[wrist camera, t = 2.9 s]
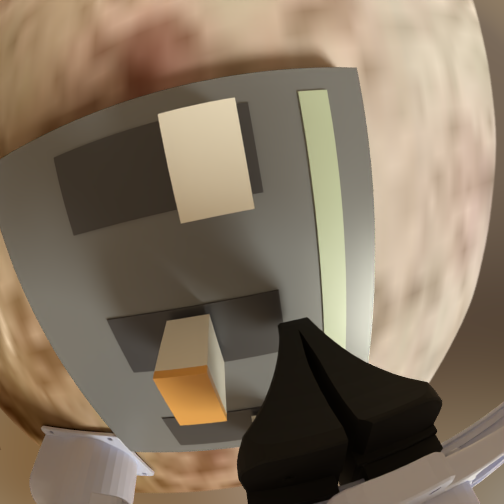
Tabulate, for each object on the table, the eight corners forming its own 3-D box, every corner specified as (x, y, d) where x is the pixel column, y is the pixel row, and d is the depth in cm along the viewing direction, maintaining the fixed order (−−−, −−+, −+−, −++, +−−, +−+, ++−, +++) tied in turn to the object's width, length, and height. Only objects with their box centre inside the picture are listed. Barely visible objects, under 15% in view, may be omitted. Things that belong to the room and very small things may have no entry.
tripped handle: (185, 367, 14) (180, 425, 10) (166, 320, 12) (152, 378, 9) (224, 362, 14) (227, 420, 10) (209, 313, 12) (206, 372, 9)
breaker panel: (133, 437, 19) (124, 489, 14) (2, 164, 10) (-64, 182, 6) (353, 404, 19) (376, 456, 14) (342, 74, 11) (405, 46, 6)
